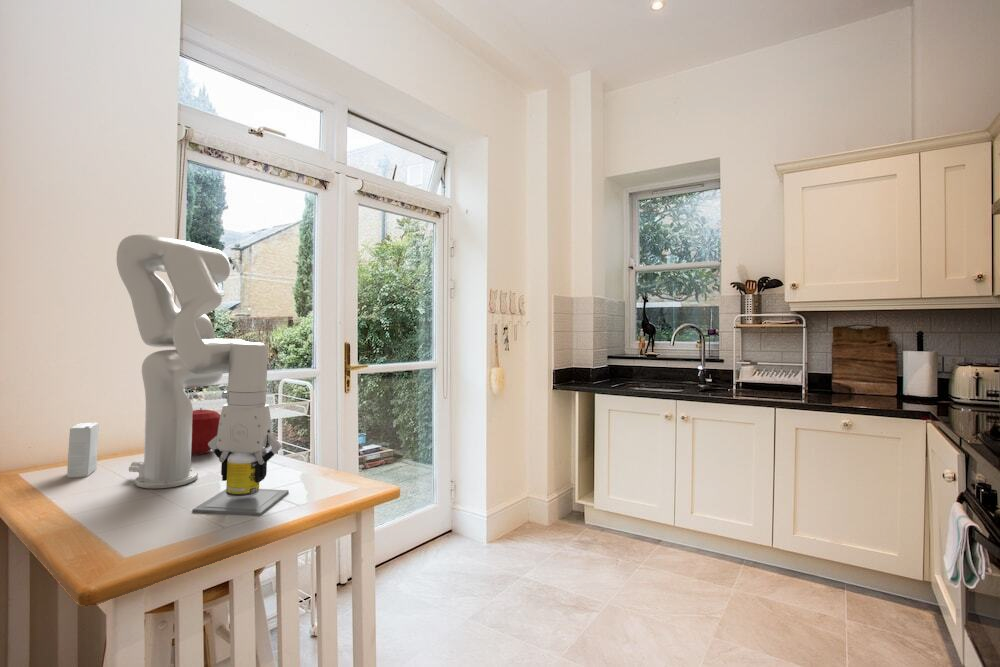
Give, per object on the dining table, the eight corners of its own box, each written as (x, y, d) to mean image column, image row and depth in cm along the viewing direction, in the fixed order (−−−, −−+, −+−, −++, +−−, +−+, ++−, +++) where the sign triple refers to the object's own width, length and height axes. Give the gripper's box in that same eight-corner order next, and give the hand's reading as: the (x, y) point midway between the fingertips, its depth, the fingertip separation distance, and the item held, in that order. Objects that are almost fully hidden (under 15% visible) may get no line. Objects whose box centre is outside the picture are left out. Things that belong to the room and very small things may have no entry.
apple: (228, 454, 148) (230, 408, 147) (183, 460, 139) (184, 412, 139) (214, 445, 156) (216, 402, 156) (170, 451, 148) (172, 405, 147)
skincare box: (75, 471, 127) (77, 422, 126) (98, 469, 128) (99, 422, 128) (66, 478, 121) (67, 427, 121) (89, 477, 123) (90, 427, 122)
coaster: (192, 512, 105) (192, 508, 105) (228, 489, 119) (228, 486, 119) (260, 515, 105) (260, 512, 105) (288, 492, 119) (288, 489, 119)
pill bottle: (245, 501, 108) (247, 447, 107) (218, 497, 109) (221, 443, 109) (265, 491, 114) (267, 440, 114) (240, 488, 115) (242, 437, 115)
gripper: (197, 399, 107) (194, 483, 108) (279, 403, 107) (275, 487, 108) (217, 394, 115) (214, 472, 115) (293, 398, 115) (290, 476, 115)
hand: (243, 479), depth 112 cm, fingers closed on pill bottle, 6 cm apart
